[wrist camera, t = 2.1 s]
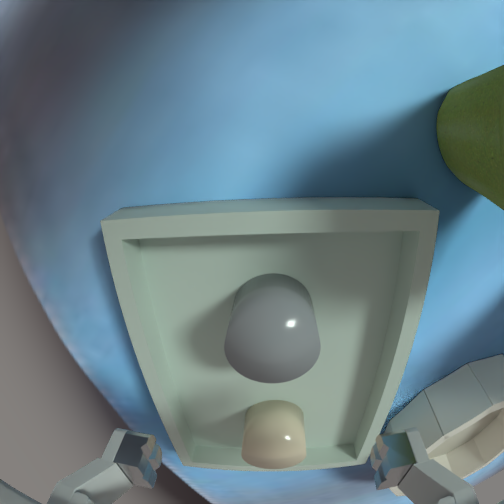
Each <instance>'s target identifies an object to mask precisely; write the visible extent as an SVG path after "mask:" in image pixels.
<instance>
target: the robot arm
mask: <svg viewBox="0 0 504 504" xmlns="http://www.w3.org/2000/svg"><path fill="white" fill-rule="evenodd" d="M375 440H376V444H375V445H373V446H372V449H371V454H370V460H371V466H372V468H373V469H375V470H376V471H377V472H376V473H375V475H374V480H375V484H376V489H377V490H380V489H386V488H391V487H396V486H398V488H399V489H400V490H401V491H402V492H403V493H404V494H405V495H406V496H407V497H408V498H409V499H410V500H411V501H412V502H413V503H414V504H479V502H478V499H477V497H476V494H475V491H474V488H473V486H472V485H470V484H469V483H467V482H466V481H464V480H463V479H461V478H460V477H458V476H457V475H455V474H454V473H452V472H451V471H450V470H448V469H447V468H445V467H444V466H442V465H441V464H439V463H438V462H437V461H435V460H434V459H431V460H430V459H429V457H428V454H427V451H426V449H425V446H424V443H423V441H422V438H421V436H420V433H419V431H418V429H417V428H416V427H413V428H409V429H404V430H399V431H394V432H389V433H384V434H379V435H378V436H377V437H376V439H375ZM155 442H156V438H155V437H154V435H151V434H145V433H139V432H134V431H130V430H125V429H120V428H116V429H115V430H114V431H113V434H112V436H111V438H110V440H109V442H108V444H107V446H106V448H105V451H104V453H103V455H102V457H101V458H97V459H95V460H94V461H92V462H90V463H89V464H87V465H85V466H84V467H82V468H81V469H79V470H77V471H76V472H74V473H72V474H71V475H69V476H67V477H66V478H64V479H62V480H60V481H59V482H57V484H56V486H55V488H54V490H53V492H52V494H51V496H50V498H49V500H48V502H47V504H112V503H114V502H115V501H116V500H117V499H118V498H119V497H121V496H122V495H123V494H124V493H125V492H127V491H128V490H129V489H130V488H131V487H132V486H133V485H138V486H143V487H147V488H152V489H153V487H154V484H155V480H156V477H157V475H156V472H155V470H156V469H157V468H159V467H160V464H161V460H162V452H161V448H160V446H159V445H157V444H156V443H155ZM0 504H41V503H40V502H37V501H36V500H34V499H32V498H30V497H29V496H27V495H25V494H23V493H22V492H20V491H18V490H16V489H15V488H13V487H12V486H10V485H8V484H7V483H6V482H4V481H3V480H1V479H0ZM497 504H504V500H502V501H501V502H499V503H497Z"/></svg>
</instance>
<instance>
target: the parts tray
mask: <svg viewBox="0 0 504 504" xmlns="http://www.w3.org/2000/svg"><path fill="white" fill-rule="evenodd" d="M438 219H439V210H437V209H436V208H434V207H432V206H430V205H429V204H427V203H425V202H423V201H421V200H419V199H418V198H379V197H311V198H268V199H242V200H221V201H203V202H187V203H173V204H160V205H147V206H136V207H125V208H121V209H119V210H118V211H116V212H114V213H113V214H111V215H109V216H108V217H106V218H104V219H103V220H101V221H100V222H101V227H102V232H103V237H104V242H105V246H106V251H107V255H108V260H109V264H110V268H111V272H112V276H113V280H114V284H115V288H116V292H117V295H118V299H119V303H120V306H121V309H122V313H123V316H124V320H125V323H126V326H127V329H128V332H129V336H130V339H131V342H132V345H133V348H134V351H135V353H136V356H137V359H138V362H139V365H140V368H141V370H142V373H143V376H144V378H145V381H146V384H147V386H148V389H149V391H150V394H151V396H152V399H153V401H154V404H155V406H156V408H157V411H158V413H159V415H160V418H161V420H162V422H163V424H164V427H165V429H166V431H167V433H168V435H169V438H170V440H171V442H172V444H173V446H174V448H175V450H176V452H177V454H178V456H179V458H180V460H181V462H182V464H183V465H184V466H191V467H200V468H210V469H222V470H238V471H298V470H315V469H327V468H337V467H345V466H353V465H360V464H365V463H366V461H367V459H368V457H369V455H370V453H371V449H372V446H373V445H375V443H376V440H375V439H376V437H377V436H378V435H379V434H380V432H381V429H382V427H383V425H384V422H385V420H386V418H387V415H388V413H389V410H390V408H391V405H392V403H393V400H394V398H395V395H396V392H397V390H398V387H399V384H400V382H401V379H402V376H403V373H404V370H405V367H406V364H407V361H408V358H409V355H410V351H411V348H412V345H413V341H414V338H415V334H416V331H417V327H418V324H419V320H420V316H421V312H422V308H423V304H424V299H425V295H426V291H427V286H428V281H429V276H430V271H431V266H432V260H433V254H434V248H435V242H436V235H437V227H438ZM269 273H278V274H284V275H287V276H290V277H292V278H294V279H296V280H298V281H299V282H300V283H302V284H303V285H304V286H305V287H306V289H307V290H308V292H309V294H310V296H311V299H312V303H313V308H314V313H315V318H316V323H317V328H318V333H319V338H320V344H321V350H320V355H319V357H318V360H317V361H316V363H315V364H314V366H313V367H312V368H311V369H310V370H309V371H308V372H306V373H305V374H304V375H302V376H300V377H298V378H296V379H294V380H291V381H288V382H283V383H261V382H257V381H253V380H250V379H248V378H246V377H244V376H242V375H241V374H239V373H238V372H237V371H236V370H235V369H234V368H233V367H232V366H231V365H230V364H229V362H228V360H227V358H226V356H225V351H224V343H225V338H226V333H227V329H228V324H229V320H230V315H231V311H232V306H233V302H234V298H235V295H236V293H237V292H238V290H239V289H240V287H241V286H242V285H243V284H244V283H246V282H247V281H248V280H250V279H252V278H254V277H256V276H259V275H263V274H269ZM267 400H283V401H288V402H291V403H294V404H296V405H297V406H299V407H300V408H301V409H302V411H303V414H304V425H305V440H306V457H305V459H304V460H303V461H302V462H300V463H299V464H297V465H294V466H292V467H288V468H283V469H264V468H258V467H255V466H252V465H250V464H248V463H247V462H245V461H244V460H243V458H242V456H241V452H242V442H243V432H244V422H245V414H246V411H247V410H248V409H249V408H250V407H251V406H253V405H254V404H256V403H259V402H262V401H267Z"/></svg>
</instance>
